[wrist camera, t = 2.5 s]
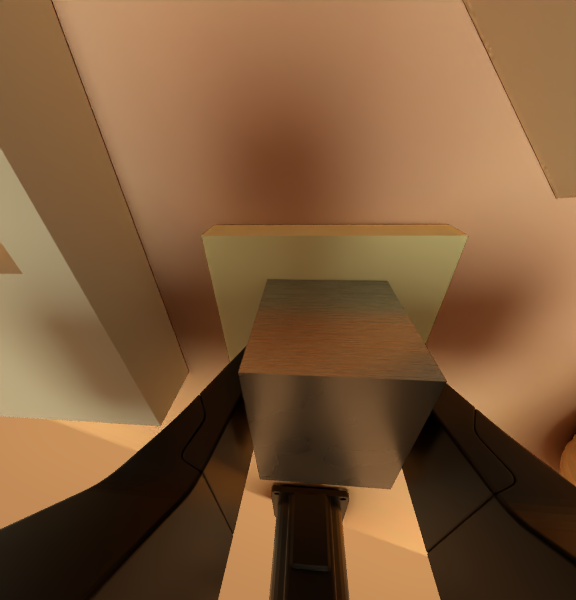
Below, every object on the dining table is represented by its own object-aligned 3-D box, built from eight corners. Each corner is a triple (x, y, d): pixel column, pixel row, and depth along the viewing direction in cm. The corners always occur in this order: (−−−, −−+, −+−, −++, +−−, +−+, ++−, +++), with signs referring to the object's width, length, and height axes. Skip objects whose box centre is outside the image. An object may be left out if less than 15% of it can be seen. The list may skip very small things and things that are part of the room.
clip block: (364, 380, 10) (390, 489, 7) (275, 376, 11) (260, 479, 7) (387, 280, 8) (446, 381, 4) (267, 278, 8) (238, 372, 5)
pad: (394, 381, 12) (402, 402, 11) (242, 374, 13) (236, 393, 12) (448, 224, 8) (468, 235, 7) (213, 225, 8) (201, 235, 7)
